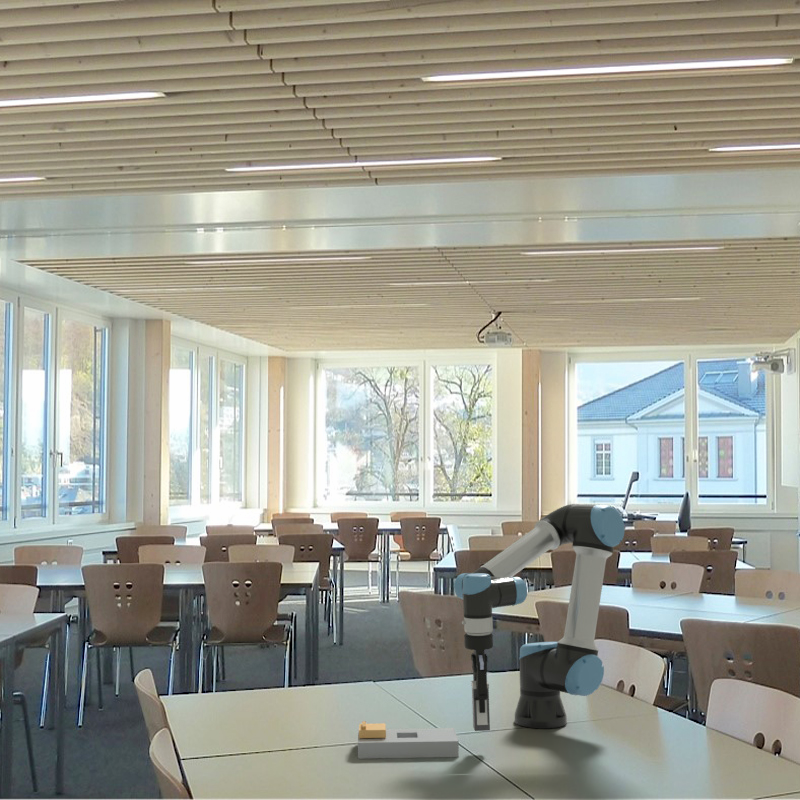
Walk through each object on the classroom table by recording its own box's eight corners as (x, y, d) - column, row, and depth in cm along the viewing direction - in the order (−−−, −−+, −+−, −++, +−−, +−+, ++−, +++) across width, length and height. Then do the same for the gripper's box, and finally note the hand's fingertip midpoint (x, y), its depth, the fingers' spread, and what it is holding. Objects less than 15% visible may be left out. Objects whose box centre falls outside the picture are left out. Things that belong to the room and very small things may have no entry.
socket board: (454, 742, 293) (454, 727, 293) (458, 756, 279) (458, 741, 279) (358, 744, 292) (358, 729, 293) (357, 758, 278) (357, 742, 279)
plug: (488, 726, 287) (487, 680, 288) (490, 730, 283) (488, 683, 284) (472, 726, 287) (471, 680, 288) (474, 731, 283) (472, 684, 283)
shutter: (385, 731, 289) (385, 720, 290) (385, 737, 282) (385, 726, 283) (359, 731, 289) (359, 720, 289) (359, 738, 282) (359, 727, 282)
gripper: (461, 628, 295) (464, 714, 294) (467, 639, 278) (470, 731, 277) (488, 627, 295) (491, 713, 294) (496, 638, 278) (499, 730, 277)
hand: (481, 722), depth 285 cm, fingers closed on plug, 4 cm apart
